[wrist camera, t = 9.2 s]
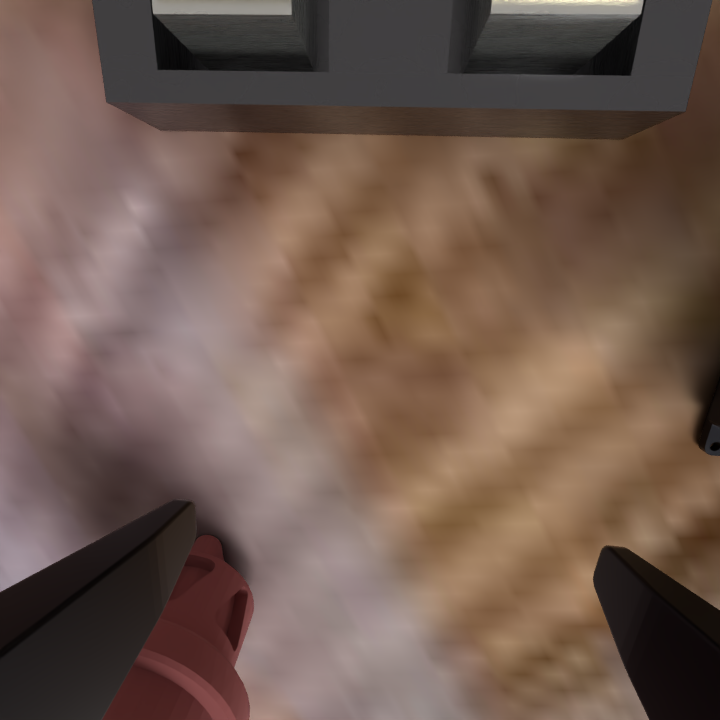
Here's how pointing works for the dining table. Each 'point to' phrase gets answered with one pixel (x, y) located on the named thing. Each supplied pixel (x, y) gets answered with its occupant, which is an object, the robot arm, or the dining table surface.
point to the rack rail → (402, 77)
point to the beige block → (540, 34)
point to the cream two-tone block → (245, 32)
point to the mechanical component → (193, 647)
